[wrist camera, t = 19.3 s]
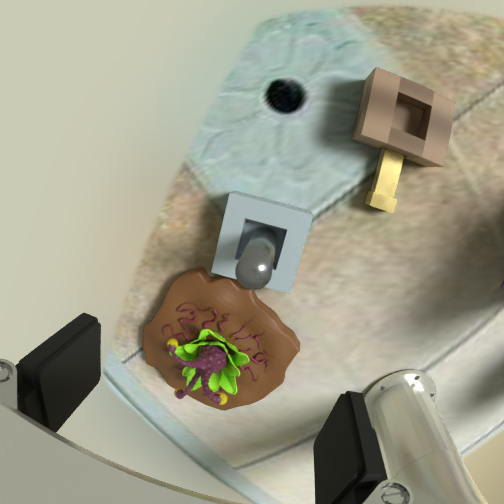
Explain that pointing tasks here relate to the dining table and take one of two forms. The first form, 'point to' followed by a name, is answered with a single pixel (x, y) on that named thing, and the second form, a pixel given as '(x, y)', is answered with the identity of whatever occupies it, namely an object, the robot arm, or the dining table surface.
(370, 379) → the dining table surface
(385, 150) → the bar
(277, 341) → the plant
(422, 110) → the socket block
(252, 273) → the peg
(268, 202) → the grey square holed block
